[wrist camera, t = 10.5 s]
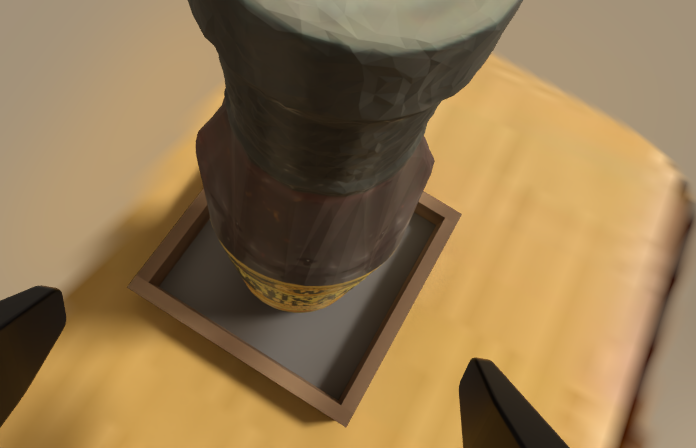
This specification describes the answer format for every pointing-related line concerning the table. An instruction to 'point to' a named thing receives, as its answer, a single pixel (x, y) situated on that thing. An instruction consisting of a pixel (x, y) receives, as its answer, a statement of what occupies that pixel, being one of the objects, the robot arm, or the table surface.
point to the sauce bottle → (328, 130)
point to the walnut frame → (287, 327)
